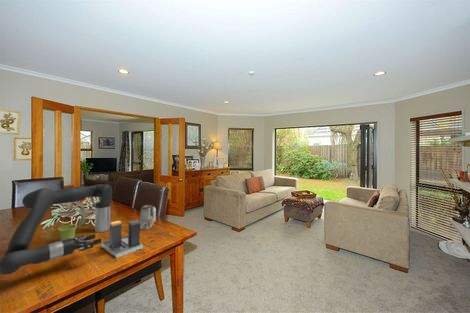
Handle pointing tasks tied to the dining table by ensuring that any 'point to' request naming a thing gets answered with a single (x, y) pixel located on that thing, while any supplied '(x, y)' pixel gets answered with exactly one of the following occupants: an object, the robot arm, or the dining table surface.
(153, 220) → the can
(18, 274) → the dining table surface
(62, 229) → the plant pot
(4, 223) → the dining table surface
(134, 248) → the twin post stand
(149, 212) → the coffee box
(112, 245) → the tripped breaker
